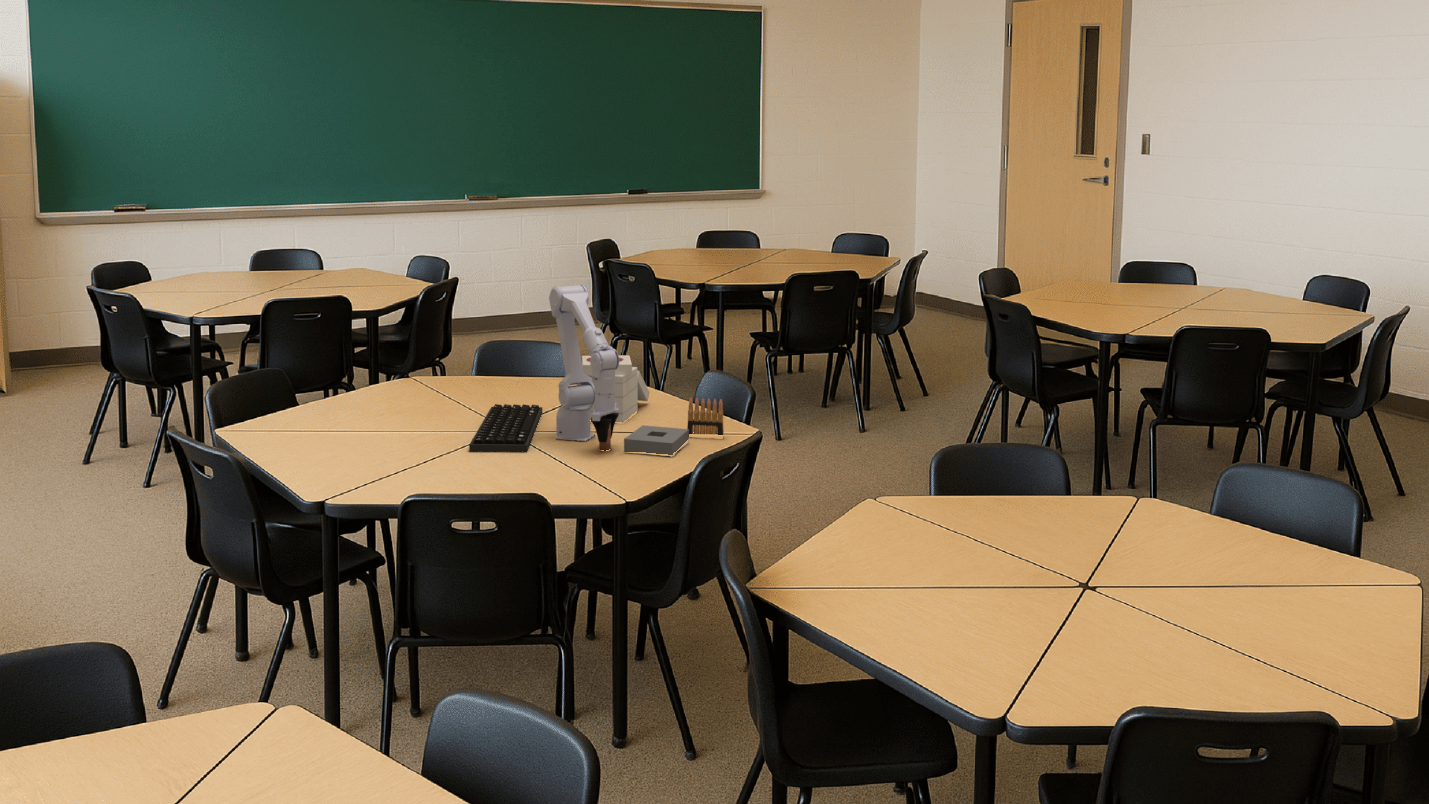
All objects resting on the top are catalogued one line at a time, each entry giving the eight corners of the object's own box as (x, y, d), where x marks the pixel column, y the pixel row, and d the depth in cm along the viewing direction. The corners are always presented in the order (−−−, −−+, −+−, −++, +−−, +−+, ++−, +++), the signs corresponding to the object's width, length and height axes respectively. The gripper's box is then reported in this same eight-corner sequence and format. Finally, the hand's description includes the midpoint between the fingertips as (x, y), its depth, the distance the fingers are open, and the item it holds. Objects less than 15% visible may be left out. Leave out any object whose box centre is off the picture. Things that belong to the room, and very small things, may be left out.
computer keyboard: (527, 454, 322) (527, 441, 321) (469, 454, 321) (469, 440, 320) (542, 415, 366) (542, 403, 365) (491, 414, 365) (491, 403, 364)
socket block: (624, 452, 323) (624, 438, 322) (642, 438, 338) (642, 425, 337) (672, 457, 319) (672, 443, 318) (688, 442, 334) (688, 429, 333)
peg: (597, 451, 324) (597, 423, 322) (601, 448, 327) (601, 420, 325) (608, 452, 323) (608, 424, 321) (612, 449, 326) (612, 421, 324)
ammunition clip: (723, 438, 340) (724, 398, 338) (722, 439, 339) (723, 399, 336) (687, 436, 342) (688, 396, 339) (686, 437, 340) (687, 397, 337)
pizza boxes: (655, 404, 380) (655, 350, 376) (626, 426, 352) (626, 367, 348) (599, 400, 384) (599, 346, 380) (567, 421, 356) (566, 363, 352)
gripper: (609, 399, 314) (609, 448, 317) (627, 388, 327) (627, 435, 330) (584, 397, 315) (585, 445, 318) (603, 386, 329) (603, 433, 332)
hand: (604, 440), depth 325 cm, fingers closed on peg, 3 cm apart
